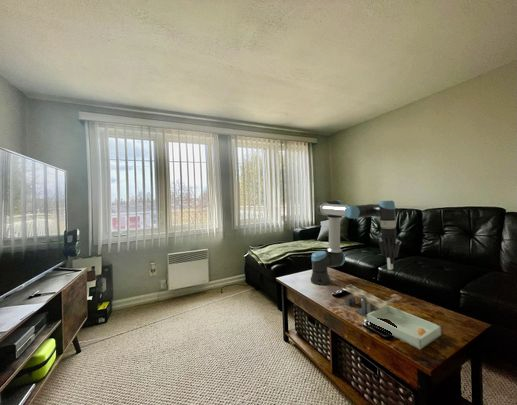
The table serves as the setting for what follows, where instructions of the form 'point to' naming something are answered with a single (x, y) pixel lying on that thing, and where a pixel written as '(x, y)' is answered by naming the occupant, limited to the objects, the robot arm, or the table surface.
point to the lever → (371, 297)
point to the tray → (405, 326)
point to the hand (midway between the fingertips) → (390, 269)
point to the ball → (421, 331)
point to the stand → (365, 308)
